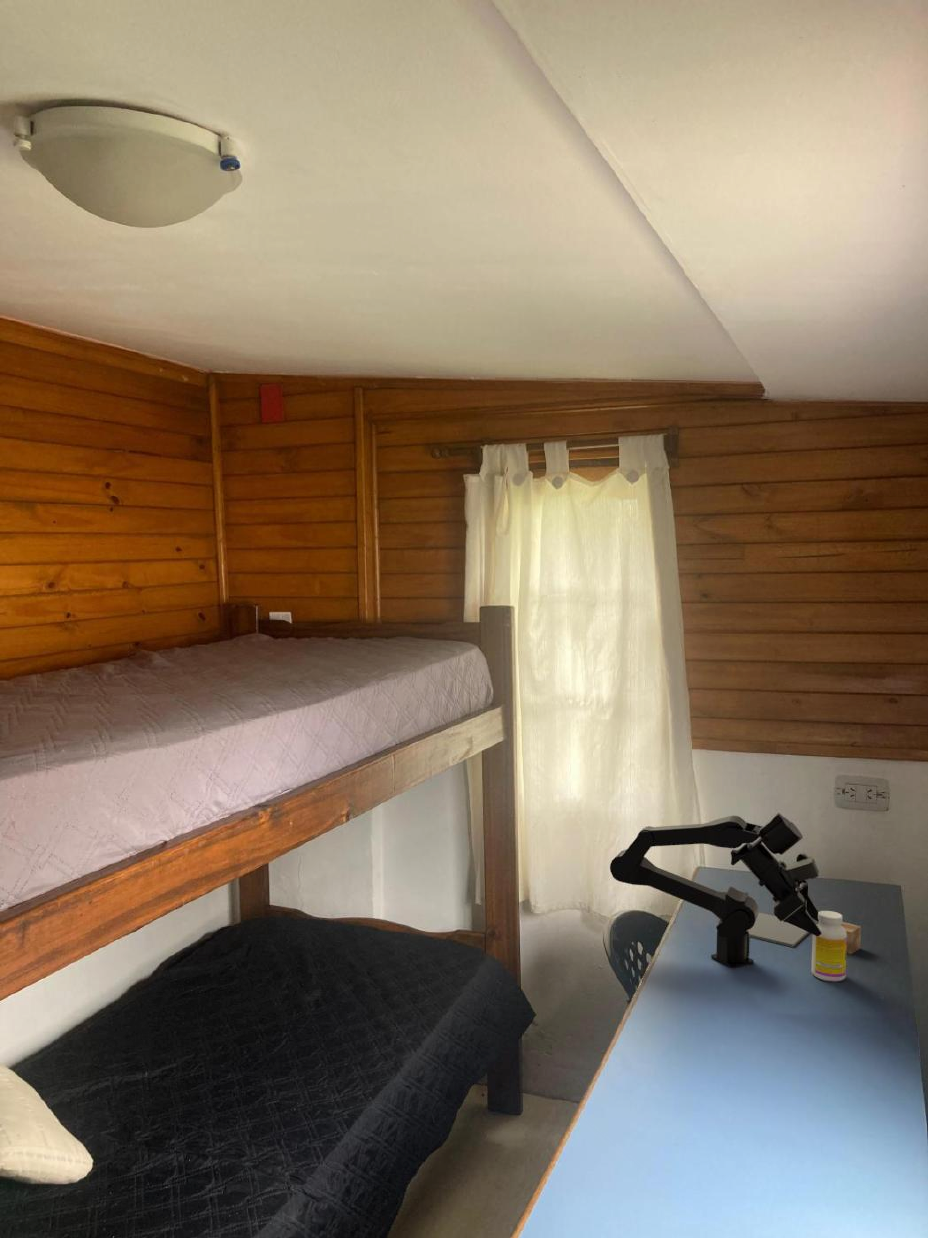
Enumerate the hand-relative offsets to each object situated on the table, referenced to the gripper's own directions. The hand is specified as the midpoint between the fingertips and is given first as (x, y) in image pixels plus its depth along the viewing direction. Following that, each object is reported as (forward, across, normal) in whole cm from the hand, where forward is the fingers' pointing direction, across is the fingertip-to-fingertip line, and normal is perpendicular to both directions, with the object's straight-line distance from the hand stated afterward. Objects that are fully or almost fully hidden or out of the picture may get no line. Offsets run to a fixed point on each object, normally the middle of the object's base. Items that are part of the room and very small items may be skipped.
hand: (820, 927), depth 195 cm
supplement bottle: (+8, 0, +6) cm, 10 cm away
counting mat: (-1, +24, +15) cm, 28 cm away
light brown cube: (+10, +18, +4) cm, 21 cm away
